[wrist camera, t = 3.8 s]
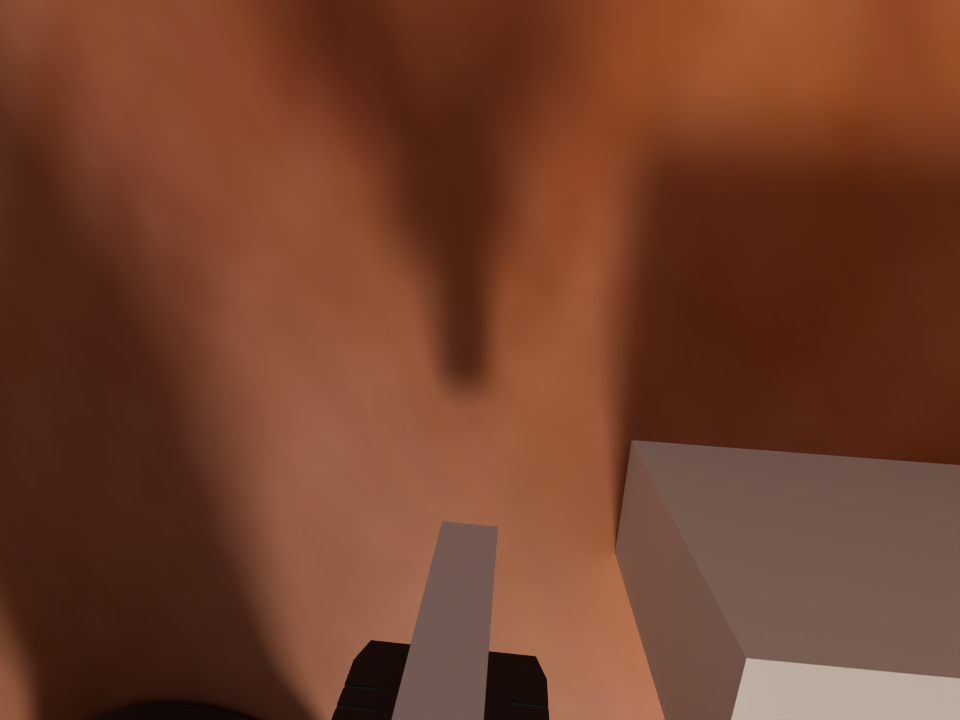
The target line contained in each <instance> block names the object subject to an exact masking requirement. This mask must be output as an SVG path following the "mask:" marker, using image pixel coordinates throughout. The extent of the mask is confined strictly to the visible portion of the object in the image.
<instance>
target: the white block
mask: <svg viewBox="0 0 960 720" xmlns="http://www.w3.org/2000/svg"><path fill="white" fill-rule="evenodd" d="M615 554H616V558H617V561H618V564H619V568H620V571H621V574H622V578H623V581H624V584H625V588H626V591H627V594H628V598H629V601H630V604H631V608H632V611H633V614H634V618H635V621H636V624H637V628H638V631H639V634H640V638H641V641H642V644H643V648H644V651H645V654H646V657H647V661H648V664H649V667H650V671H651V674H652V677H653V681H654V684H655V687H656V691H657V694H658V697H659V701H660V704H661V707H662V711H663V714H664V717H665V720H960V465H951V464H938V463H924V462H911V461H898V460H885V459H872V458H859V457H846V456H833V455H820V454H807V453H793V452H780V451H767V450H754V449H741V448H728V447H715V446H702V445H689V444H676V443H662V442H649V441H636V440H632V441H631V448H630V455H629V461H628V468H627V475H626V481H625V488H624V495H623V502H622V508H621V515H620V522H619V528H618V535H617V542H616V549H615Z"/></svg>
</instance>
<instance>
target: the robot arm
mask: <svg viewBox="0 0 960 720" xmlns="http://www.w3.org/2000/svg"><path fill="white" fill-rule="evenodd" d="M497 530H498V527H496V526H486V525H475V524H464V523H453V522H442V524H441V528H440V532H439V536H438V540H437V544H436V548H435V552H434V555H433V559H432V563H431V567H430V571H429V575H428V579H427V583H426V587H425V591H424V595H423V598H422V602H421V606H420V610H419V614H418V618H417V622H416V626H415V630H414V634H413V638H412V641H411V644H401V643H392V642H383V641H373V640H371V641H370V642H369V643H368V644H367V645H366V646H365V648H364V649H363V650H362V651H361V652H360V653H359V654H358V656H357V657H356V658H355V659H354V661H353V663H352V666H351V669H350V671H349V674H348V677H347V679H346V682H345V687H344V688H343V690H342V693H341V695H340V698H339V701H338V703H337V708H336V709H335V711H334V714H333V717H332V719H331V720H549V710H548V692H547V679H546V677H545V675H544V673H543V670H542V668H541V666H540V664H539V662H538V660H537V658H536V656H527V655H518V654H509V653H499V652H490V651H489V639H490V625H491V612H492V598H493V584H494V571H495V557H496V543H497ZM95 720H250V719H247V718H244V717H241V716H238V715H235V714H232V713H229V712H225V711H221V710H217V709H213V708H208V707H202V706H195V705H187V704H165V703H164V704H148V705H139V706H134V707H128V708H125V709H121V710H117V711H114V712H111V713H108V714H106V715H104V716H101V717H99V718H97V719H95Z"/></svg>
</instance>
